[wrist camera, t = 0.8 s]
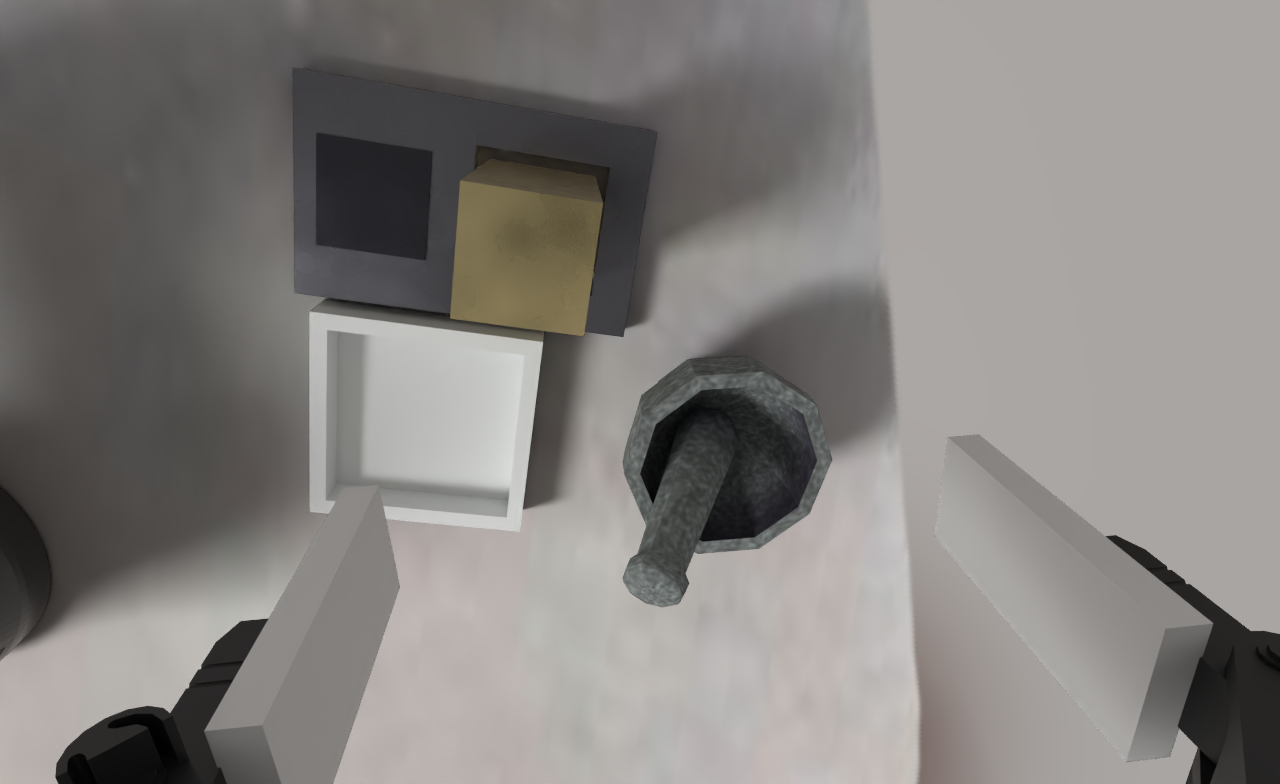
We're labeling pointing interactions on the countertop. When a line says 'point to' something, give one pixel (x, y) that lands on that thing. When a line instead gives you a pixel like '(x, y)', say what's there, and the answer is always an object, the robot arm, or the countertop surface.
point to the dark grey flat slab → (437, 189)
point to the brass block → (525, 247)
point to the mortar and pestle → (718, 467)
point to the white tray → (421, 413)
